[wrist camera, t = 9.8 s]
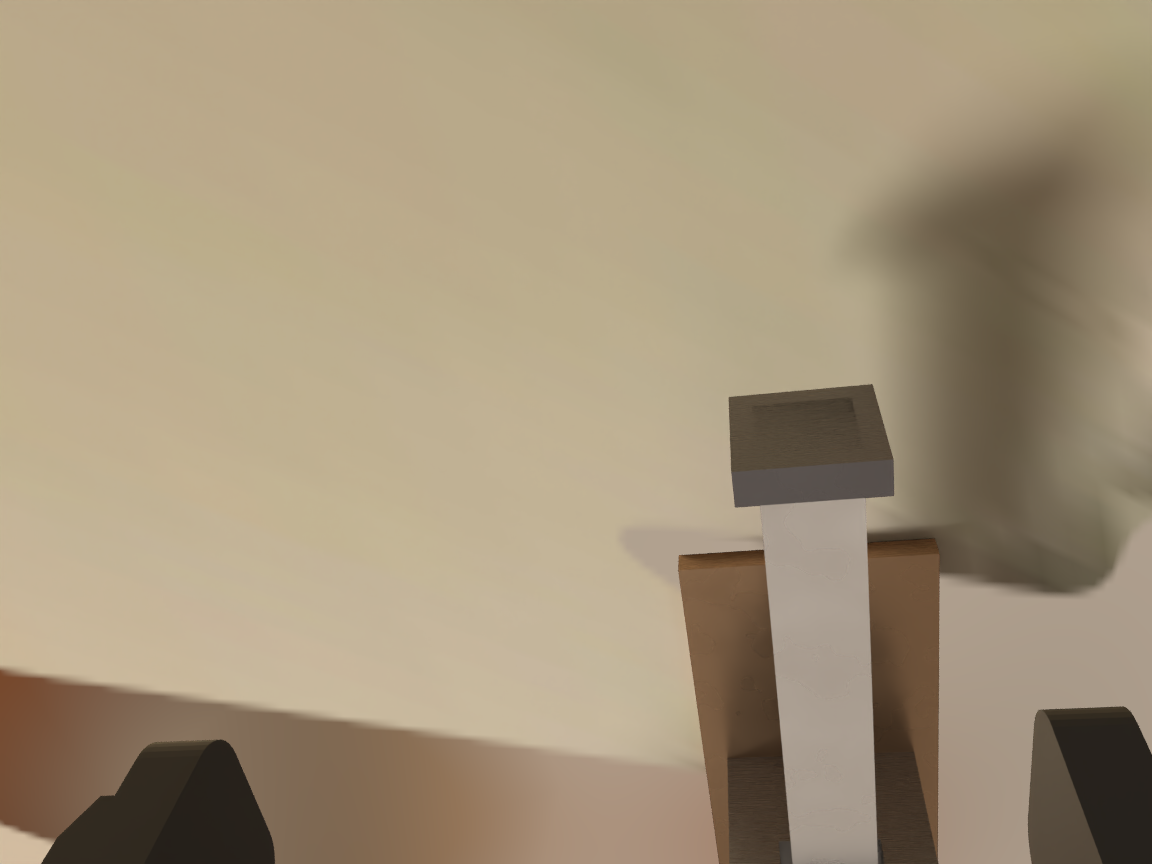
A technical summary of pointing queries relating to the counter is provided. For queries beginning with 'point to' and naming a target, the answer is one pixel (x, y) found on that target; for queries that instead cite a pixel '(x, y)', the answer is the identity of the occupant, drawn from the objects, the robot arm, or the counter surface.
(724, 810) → the block
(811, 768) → the shaft
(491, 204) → the counter surface
